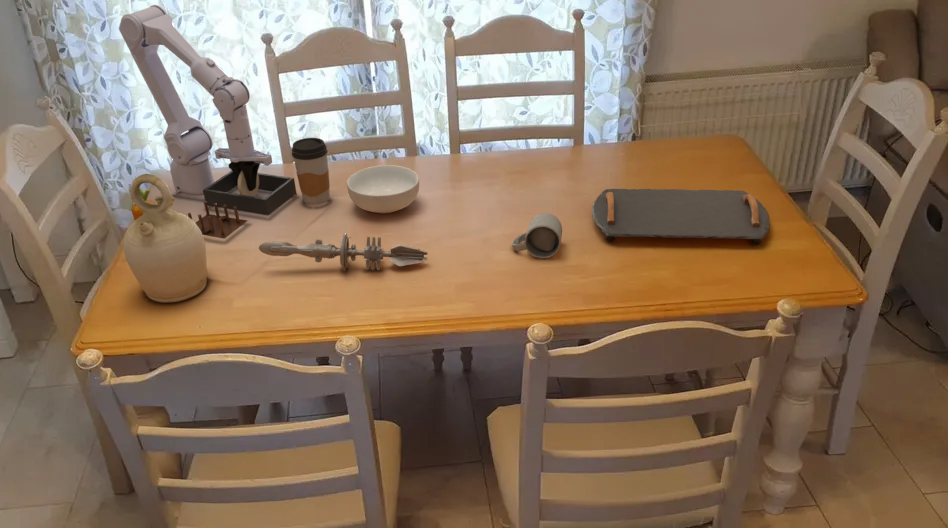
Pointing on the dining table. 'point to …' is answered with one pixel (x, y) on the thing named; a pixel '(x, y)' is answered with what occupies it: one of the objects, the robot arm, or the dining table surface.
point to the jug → (165, 247)
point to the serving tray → (680, 214)
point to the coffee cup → (312, 169)
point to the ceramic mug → (541, 236)
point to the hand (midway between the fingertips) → (249, 188)
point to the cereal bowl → (383, 188)
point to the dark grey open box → (277, 184)
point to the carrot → (137, 211)
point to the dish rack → (218, 222)
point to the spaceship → (348, 252)
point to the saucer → (243, 185)
